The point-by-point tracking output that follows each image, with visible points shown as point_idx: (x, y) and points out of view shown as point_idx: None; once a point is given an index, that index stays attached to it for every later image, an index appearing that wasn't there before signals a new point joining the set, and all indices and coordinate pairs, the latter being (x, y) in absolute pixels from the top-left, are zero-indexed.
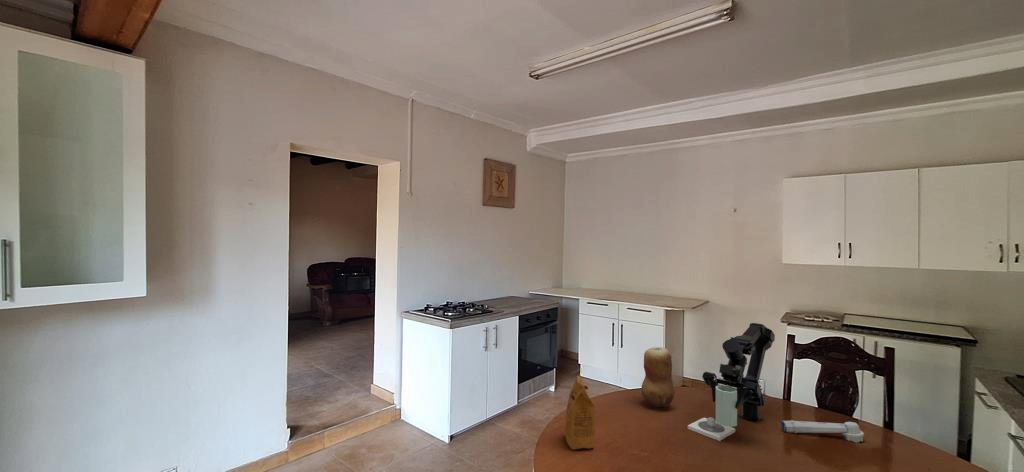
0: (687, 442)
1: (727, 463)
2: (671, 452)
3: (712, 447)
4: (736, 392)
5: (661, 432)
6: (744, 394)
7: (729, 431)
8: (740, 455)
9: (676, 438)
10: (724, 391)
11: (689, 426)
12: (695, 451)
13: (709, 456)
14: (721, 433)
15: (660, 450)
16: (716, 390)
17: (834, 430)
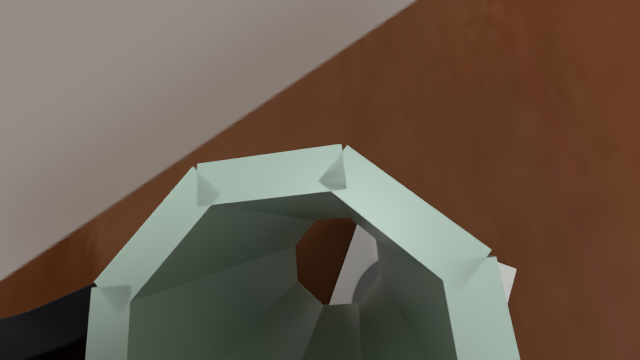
0: (468, 129)
1: (322, 63)
2: (495, 23)
3: (377, 143)
4: (113, 268)
5: (596, 157)
6: (32, 310)
7: (330, 304)
8: (288, 139)
9: (517, 138)
10: (302, 168)
11: (505, 265)
12: (424, 78)
13: (376, 73)
14: (359, 261)
15: (534, 13)
16: (458, 238)
17: None
